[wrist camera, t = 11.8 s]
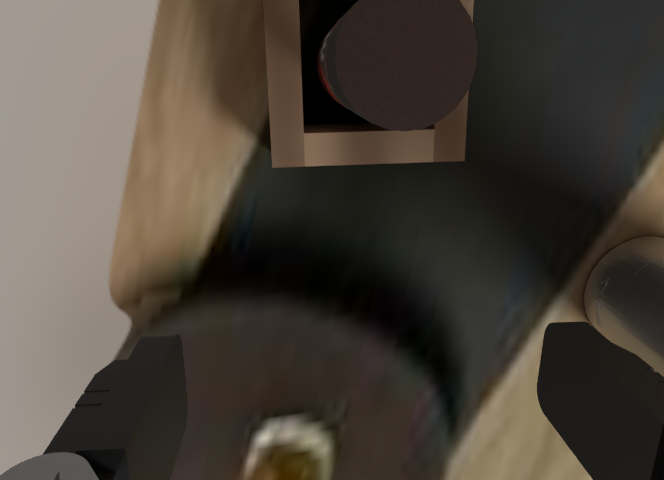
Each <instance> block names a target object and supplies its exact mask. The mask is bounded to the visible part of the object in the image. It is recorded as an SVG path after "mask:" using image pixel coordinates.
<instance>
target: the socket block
mask: <svg viewBox="0 0 664 480" xmlns="http://www.w3.org/2000/svg"><path fill="white" fill-rule="evenodd" d="M460 2H461V3H462V5H463V6H464V8H465V9H466V11H467V12H468V14H469V15H470V17H471V20H472V23H473V7H474V0H460ZM263 13H264V31H265V48H266V66H267V83H268V101H269V118H270V136H271V153H272V168H275V167H304V166H333V165H362V164H391V163H420V162H449V161H465V144H466V127H467V110H468V93H469V90H468V92H467V94H466V95H465V96H464V98H463V99H462V100H461V102H460V103H459V104H458V106H457V107H456V108H455V109H454V110H453V111H452V112H450V113H449V114H448V115H447V116H446V117H444V118H443V119H442V120H441V121H438V122H436V123H434V124H432V125H430V126H428V127H426V128H422V129H417V130H412V131H396V130H388V129H385V128H383V127H380V126H377V125H375V124H372V123H348V124H313V125H303V98H302V72H301V45H300V18H299V0H263Z"/></svg>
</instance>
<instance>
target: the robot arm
mask: <svg viewBox="0 0 664 480" xmlns="http://www.w3.org/2000/svg"><path fill="white" fill-rule="evenodd" d="M584 306H585V311H586V314H587V316H588V318H589V321H590V322H591V324H592V325H593V326H594V327H595V328H596V329H597V330H598V331H599V332H598V331H597V330H596V329H595V328H594V327H592V326H591V325H590V324H589V323H587V322H559V323H550V324H549V325H548V326H547V327H546V330H545V333H544V340H543V347H542V354H541V361H540V368H539V375H538V382H537V394H538V400H539V404H540V407H541V409H542V411H543V413H544V414H545V416H546V417H547V418H548V420H549V421H550V422H551V424H552V425H553V427H554V428H555V429H556V431H557V432H558V433H559V435H560V436H561V437H562V439H563V440H564V441H565V443H566V444H567V445H568V447H569V448H570V449H571V451H572V452H573V453H574V455H575V456H576V457H577V459H578V460H579V461H580V463H581V464H582V465H583V467H584V468H585V469H586V471H587V472H588V474H589V475H590V476H591V478H592V479H593V480H664V238H660V237H655V236H651V237H640V238H635V239H631V240H629V241H627V242H624V243H622V244H620V245H618V246H617V247H615V248H614V249H612V250H611V251H609V252H608V253H607V254H606V255H605V256H604V257H603V258H602V259H601V260H600V261H599V262H598V264H597V265H596V266H595V268H594V269H593V270H592V272H591V274H590V277H589V279H588V281H587V284H586V288H585V292H584ZM602 334H603V335H604V336H605V337H604V336H603V335H602ZM608 339H609V340H610V341H611V342H610V341H609V340H608ZM187 405H188V404H187V390H186V380H185V370H184V359H183V349H182V342H181V338H180V336H179V335H178V334H177V335H147V336H142V337H141V338H140V339H139V341H138V343H137V345H136V346H135V348H134V350H133V352H132V353H131V355H130V357H129V358H128V360H114V361H113V362H112V363H110V364H109V365H107V366H106V367H105V368H103V369H102V370H101V371H99V372H98V373H97V374H95V376H94V377H93V379H92V380H91V382H90V383H89V385H88V386H87V388H86V389H85V391H84V394H82V396H81V397H80V398H79V400H78V401H77V403H76V405H75V408H74V409H72V411H71V412H70V414H69V415H68V417H67V418H66V420H65V421H64V423H63V425H62V426H61V427H60V429H59V430H58V432H57V434H56V435H55V436H54V438H53V440H52V441H51V443H50V444H49V446H48V447H47V449H46V450H45V452H44V453H43V455H40V456H37V457H33V458H31V459H28V460H26V461H24V462H21V463H19V464H17V465H15V466H14V467H12V468H10V469H9V470H7V471H6V472H4V473H3V474H2V475H0V480H170V477H171V474H172V470H173V467H174V464H175V461H176V457H177V454H178V451H179V447H180V444H181V441H182V437H183V434H184V431H185V427H186V421H187Z"/></svg>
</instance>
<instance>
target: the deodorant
mask: <svg viewBox="0 0 664 480" xmlns="http://www.w3.org/2000/svg"><path fill="white" fill-rule="evenodd" d="M477 59H478V46H477V34H476V32H475V29H474V26H473V23H472V20H471V17H470V15H469V14H468V12H467V11H466V9H465V8H464V6H463V5H462V3H461V2H460V0H358V1H357V2H356V3H355V4H354V5H353V6H352V7H351V8H350V9H349V10H348V11H347V12H346V13H345V14H344V15H343V16H342V17H341V18H340V19H339V21H338V22H337V23H336V24H335V25H334V26H333V27H332V28H331V29H330V30H329V31H328V32H327V33H326V35H325V36H324V38H323V39H322V41H321V43H320V46H319V49H318V52H317V58H316V69H317V75H318V79H319V81H320V83H321V85H322V88H323V89H324V90H325V91H326V93H327V94H328V95H329V96H330V97H331V98H332V99H334V100H335V101H336V102H338V103H339V104H341V105H342V106H344V107H346V108H347V109H349V110H351V111H352V112H354V113H356V114H357V115H359V116H360V117H362V118H364V119H365V120H367V121H369V122H370V123H372V124H375V125H377V126H380V127H383V128H385V129H388V130H396V131H412V130H417V129H422V128H426V127H428V126H430V125H432V124H434V123H436V122H438V121H441V120H442V119H443V118H444V117H446V116H447V115H448V114H449V113H450V112H452V111H453V110H454V109H455V108H456V107H457V106H458V104H459V103H460V102H461V100H462V99H463V98H464V96H465V95H466V94H467V92H468V90H469V87H470V85H471V83H472V80H473V78H474V76H475V71H476V65H477Z"/></svg>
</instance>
